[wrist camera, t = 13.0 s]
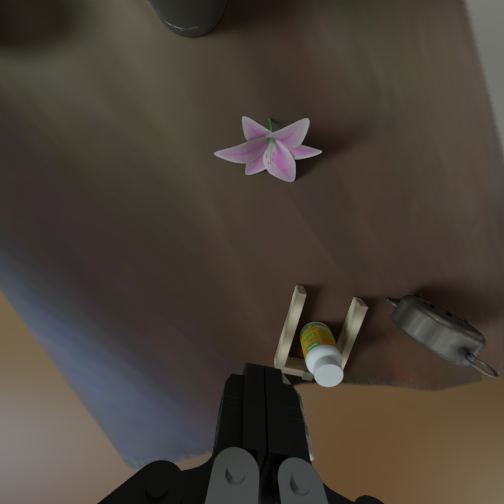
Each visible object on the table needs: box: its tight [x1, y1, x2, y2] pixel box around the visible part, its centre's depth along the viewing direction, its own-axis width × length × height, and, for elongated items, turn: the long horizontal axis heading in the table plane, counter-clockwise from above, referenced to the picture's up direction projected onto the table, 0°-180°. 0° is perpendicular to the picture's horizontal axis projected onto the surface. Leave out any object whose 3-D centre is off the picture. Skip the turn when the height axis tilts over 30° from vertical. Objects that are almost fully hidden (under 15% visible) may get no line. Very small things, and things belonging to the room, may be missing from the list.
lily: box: [214, 116, 322, 182], centre depth 34 cm, size 12×12×10 cm
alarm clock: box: [385, 293, 498, 378], centre depth 37 cm, size 11×5×16 cm, turn 65°
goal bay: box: [274, 285, 368, 381], centre depth 45 cm, size 15×11×3 cm
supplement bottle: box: [300, 322, 343, 387], centre depth 42 cm, size 5×5×10 cm
